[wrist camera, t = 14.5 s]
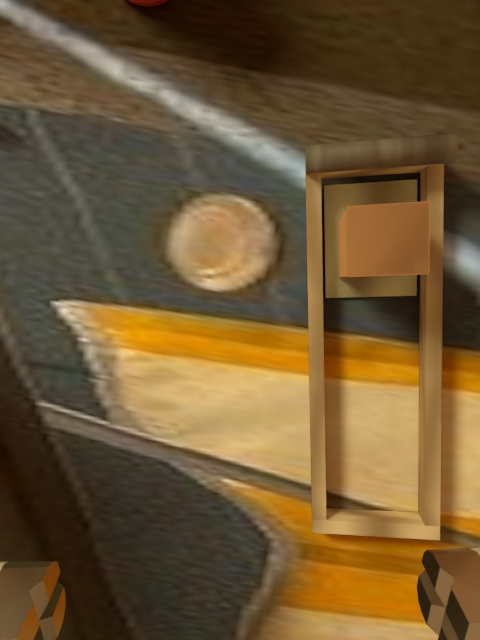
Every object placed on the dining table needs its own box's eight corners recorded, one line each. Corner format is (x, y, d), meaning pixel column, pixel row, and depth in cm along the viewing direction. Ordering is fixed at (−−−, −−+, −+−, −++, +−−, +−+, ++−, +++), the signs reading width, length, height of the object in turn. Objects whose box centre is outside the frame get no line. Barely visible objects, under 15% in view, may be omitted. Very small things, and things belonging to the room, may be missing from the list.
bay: (312, 519, 38) (313, 555, 33) (305, 160, 35) (305, 141, 31) (432, 526, 37) (452, 564, 32) (436, 150, 34) (458, 128, 29)
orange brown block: (338, 277, 36) (347, 277, 28) (337, 222, 35) (347, 206, 27) (401, 275, 35) (429, 274, 27) (401, 218, 34) (429, 201, 27)
